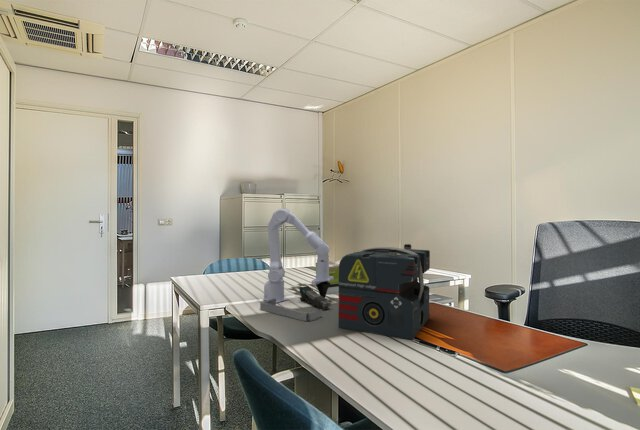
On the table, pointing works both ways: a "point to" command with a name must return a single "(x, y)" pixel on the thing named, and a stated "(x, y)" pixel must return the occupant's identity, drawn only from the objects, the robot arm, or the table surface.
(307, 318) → the slate box
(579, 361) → the table surface
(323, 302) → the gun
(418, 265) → the power unit
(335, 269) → the tea box
